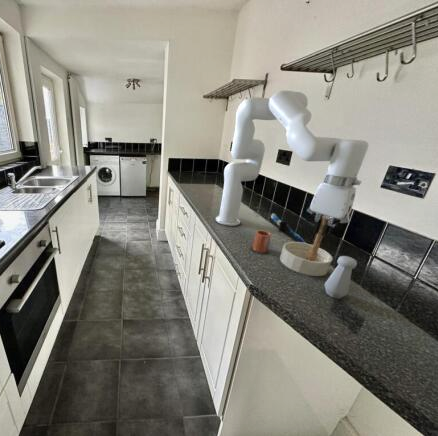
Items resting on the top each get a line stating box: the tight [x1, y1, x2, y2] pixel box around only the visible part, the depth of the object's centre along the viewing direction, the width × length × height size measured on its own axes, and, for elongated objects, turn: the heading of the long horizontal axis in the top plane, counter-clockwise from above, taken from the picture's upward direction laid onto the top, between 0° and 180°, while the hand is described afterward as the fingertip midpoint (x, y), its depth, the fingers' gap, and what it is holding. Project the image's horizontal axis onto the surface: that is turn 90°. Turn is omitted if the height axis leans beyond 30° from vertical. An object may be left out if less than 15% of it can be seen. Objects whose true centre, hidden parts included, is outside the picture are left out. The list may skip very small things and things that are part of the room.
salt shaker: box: [323, 255, 358, 300], centre depth 70 cm, size 6×6×13 cm
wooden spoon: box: [306, 217, 329, 262], centre depth 81 cm, size 3×2×18 cm, turn 32°
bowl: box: [279, 241, 334, 277], centre depth 86 cm, size 15×15×6 cm
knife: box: [270, 212, 306, 243], centre depth 113 cm, size 31×3×4 cm, turn 178°
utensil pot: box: [252, 229, 272, 253], centre depth 95 cm, size 5×6×8 cm
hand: (320, 233), depth 80 cm, fingers closed on wooden spoon, 1 cm apart
